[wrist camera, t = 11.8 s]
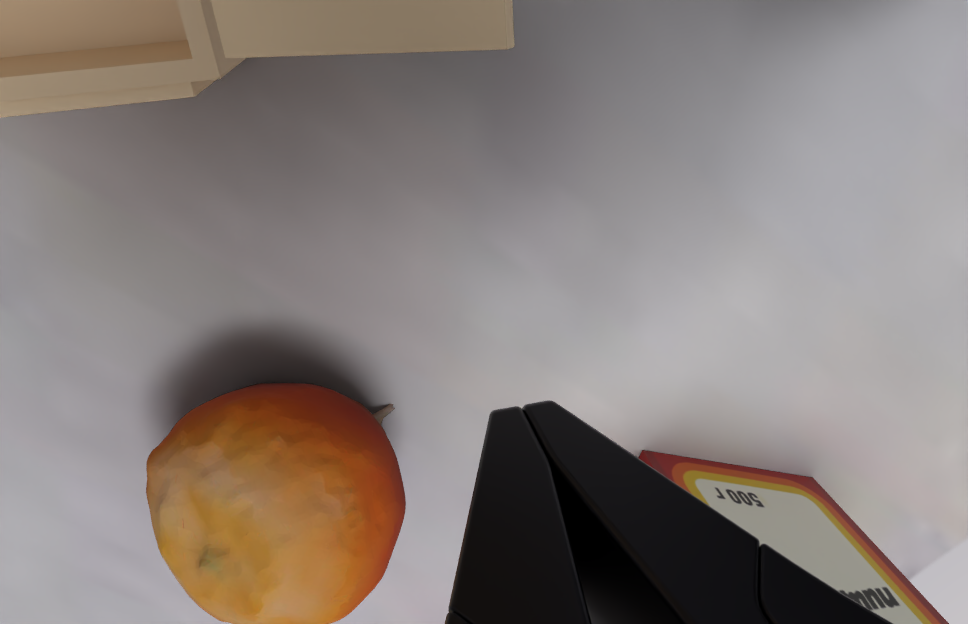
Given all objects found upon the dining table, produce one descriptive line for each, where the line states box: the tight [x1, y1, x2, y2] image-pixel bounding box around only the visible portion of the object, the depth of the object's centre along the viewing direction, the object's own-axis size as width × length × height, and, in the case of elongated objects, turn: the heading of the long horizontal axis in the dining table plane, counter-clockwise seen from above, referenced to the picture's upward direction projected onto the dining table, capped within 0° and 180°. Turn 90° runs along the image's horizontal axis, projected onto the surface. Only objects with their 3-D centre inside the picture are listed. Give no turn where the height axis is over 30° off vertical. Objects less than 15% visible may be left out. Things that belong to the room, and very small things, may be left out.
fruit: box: [146, 383, 406, 624], centre depth 21 cm, size 8×8×8 cm
